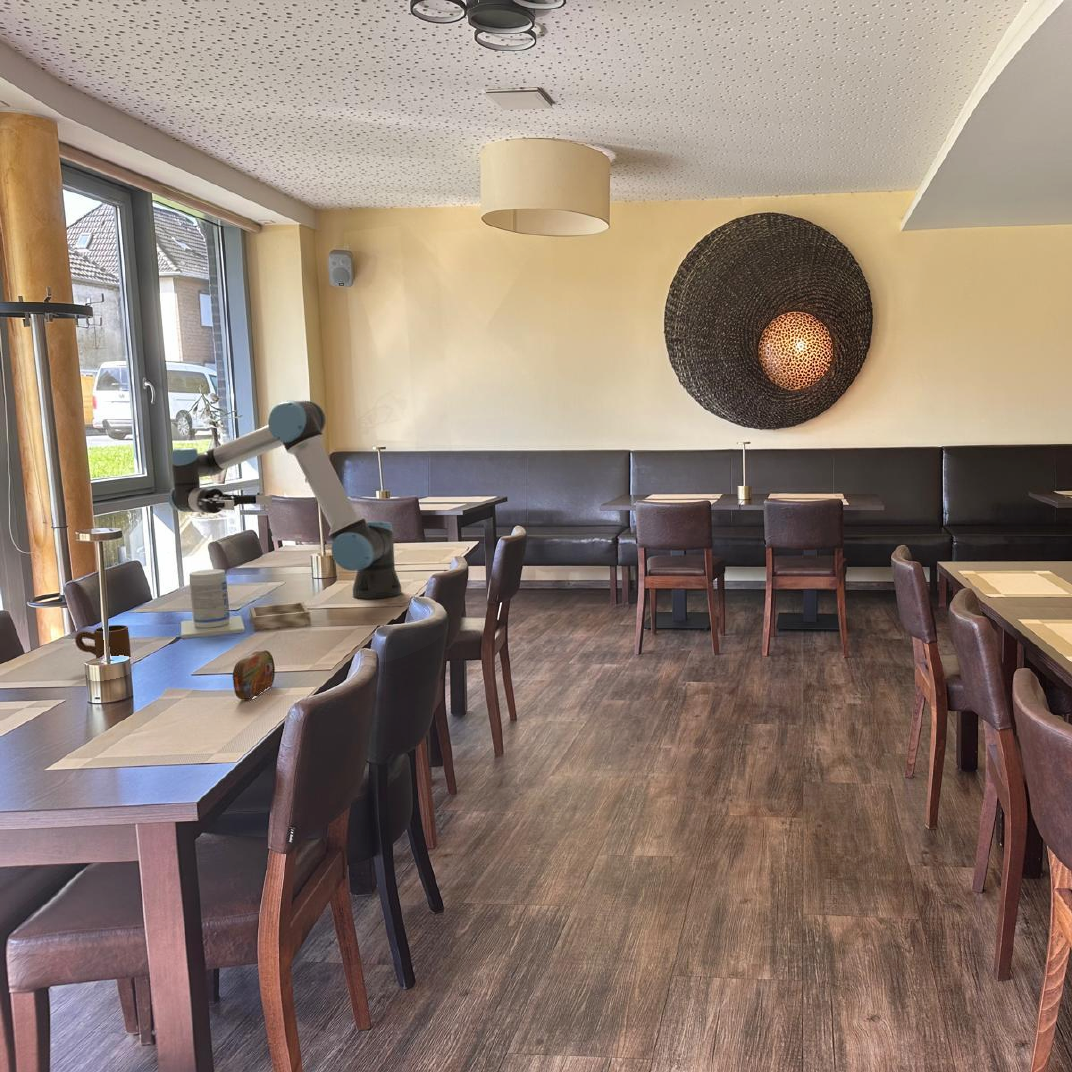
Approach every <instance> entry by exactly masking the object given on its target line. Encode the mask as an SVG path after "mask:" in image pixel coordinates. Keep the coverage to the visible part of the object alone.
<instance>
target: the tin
mask: <svg viewBox="0 0 1072 1072" xmlns="http://www.w3.org/2000/svg"><path fill="white" fill-rule="evenodd" d="M275 669H276V667H275V662H274V658H273V655H272V654H271V652H269V651H268V650H258V651H253V652H252V653H250V654H249V655H247V656H245V657H244V658H243V659H240V660H238V661H237V662H236V663H235V666H234V667H233V671H232V681H233V682H232V683H233V688H234V693H235V696H236V697H237V698H238V699H239V700H242V699H248V700H252V698H253V697H254V696H258V695H259V694H260V693H261V692H263V691H264V690H265V689H267V688H268V687H271V688H272V686H273V683H274V680H275V675H276V672H275V671H276V670H275ZM258 697H259V696H258ZM252 701H253V700H252Z"/></svg>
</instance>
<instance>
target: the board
mask: <svg viewBox="0 0 1072 1072" xmlns="http://www.w3.org/2000/svg"><path fill="white" fill-rule="evenodd" d="M180 627H181V628H180V633H181V634H180V636H181V637H180V639H182V640H183V639H192V638H202V637H210V636H220V635H221V636H223V635H230V634H241V633H245V626H244V622H243V618H242V616H241V615H236V616H234V615H233V616H230V621H229V623H228V624H226V625H223V626H219V627H212V628H200V627H196V626H195V625H194V622H193V619H191V620H182V621H181V626H180Z"/></svg>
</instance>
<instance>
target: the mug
mask: <svg viewBox="0 0 1072 1072" xmlns="http://www.w3.org/2000/svg"><path fill="white" fill-rule="evenodd" d="M108 626H109V647H110V654H111V656H119V655H124V656H129V657H131V658H132V653H131V644H130V643H131V641H130V633H129V627H128V626H127V625H124V624H122V625H121V624H116V625H113V624H112V625H108ZM102 627H103V626H101V627H98V628H95V629H94V631H93V632H92V631H88V630H84V631H79V632H78V633H77V635H75V640H74V641H75V645H76V648H78V649H79V650H80V651H82V652H85V653H90V654H92V655H93V656H95V660H96V659H97V658H100V657H102V656H103V655H104V640H103V629H102ZM83 638H86V639H90V640H93V641H94V642H93V643H94V645H93V644H86V643H84V641H83Z"/></svg>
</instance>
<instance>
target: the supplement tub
mask: <svg viewBox="0 0 1072 1072" xmlns="http://www.w3.org/2000/svg"><path fill="white" fill-rule="evenodd" d="M227 584H228V582H227V575H226V571H225V569H219V568H218V569H216V568H215V569H204V570H203V569H202V570H196V571H192V572H190V573H189V587H190V588H189V590H190V601H191V611H192V620H193V622H194V625H195V626H196V627H200V628H212V627H219V626H223V625H226V624H228V623H229V621H230V617H231V616H230V609H229V608H230V607H229V596H228V585H227Z"/></svg>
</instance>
